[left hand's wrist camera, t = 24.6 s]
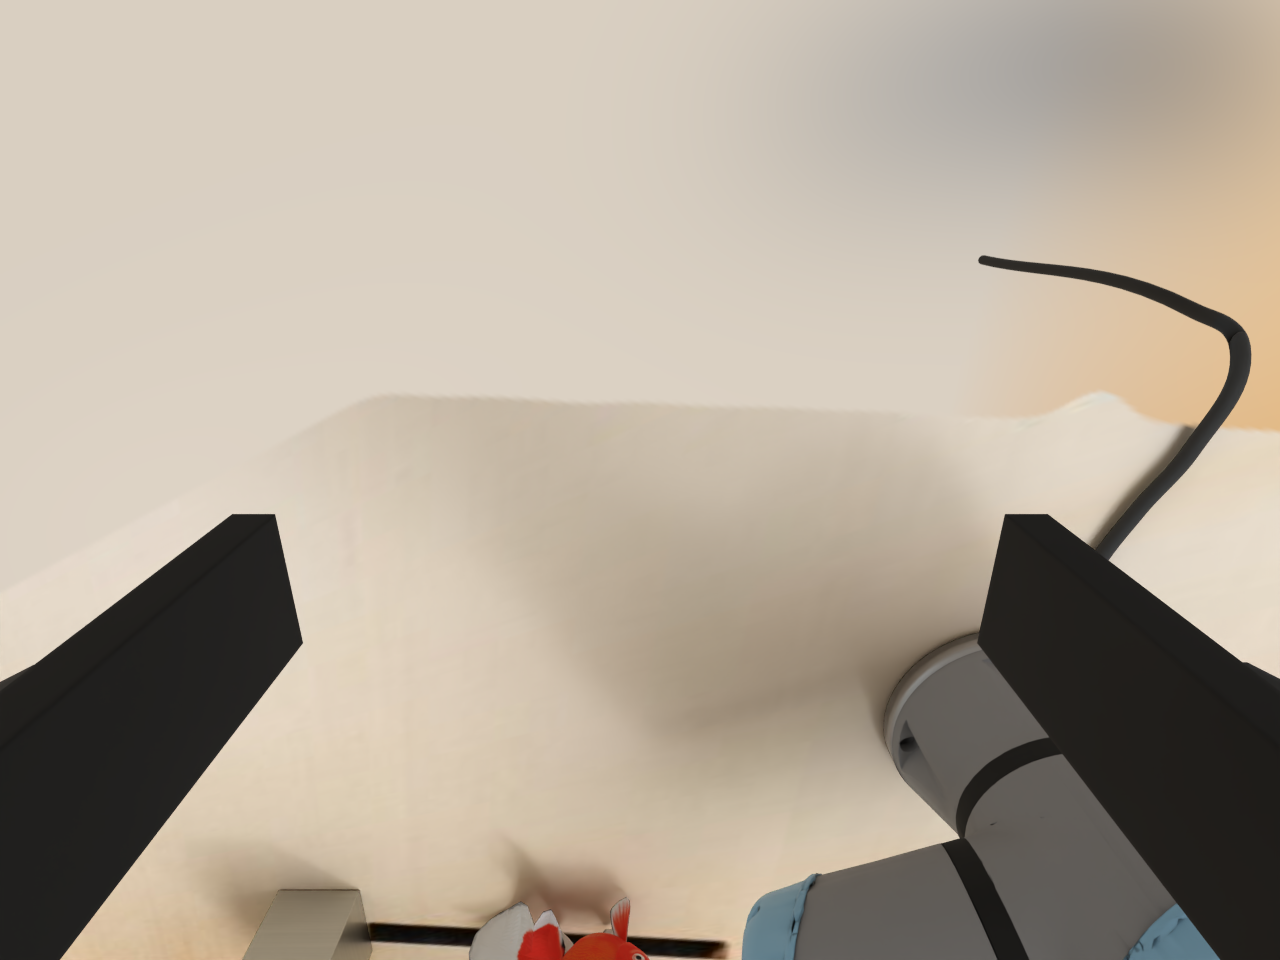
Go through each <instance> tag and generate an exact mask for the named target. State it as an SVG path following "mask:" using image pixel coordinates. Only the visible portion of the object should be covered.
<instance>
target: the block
mask: <svg viewBox="0 0 1280 960" xmlns="http://www.w3.org/2000/svg"><path fill="white" fill-rule="evenodd" d="M371 953H372V947H371V942H370V938H369V933H368V929H367V924H366V919H365V915H364V910H363V905H362V901H361V896H360V891H359V890H279V891H278V893H277V895H276V896H275V898H274V900H273V902H272V904H271V906H270V908H269V910H268V912H267V914H266V915H265V917H264V919H263V921H262V923H261V925H260V927H259V929H258V931H257V932H256V934H255V936H254V938H253V940H252V942H251V944H250V946H249V948H248V950H247V951H246V953H245V955H244V957H243V959H242V960H369V959H370V956H371Z"/></svg>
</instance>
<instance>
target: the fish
mask: <svg viewBox="0 0 1280 960" xmlns="http://www.w3.org/2000/svg"><path fill="white" fill-rule="evenodd" d="M629 914H630V901H629V899H628V898H627V897H626V898H624V899H622V900H620V901H619V902H618V903H616V904H615V905H614V906H613V907H612V909H611V911H610V915H611V925H612V929H605V930H604V932H603V933H593V934H590V935H587V936H585V937H583V938H581V939H580V940H579V941H577V942H576V943H575V944H574V945H573V943H572V942H571V940H570V939H569V938H568V937H567V936H566V935H565V934H564V933H563V932H562V931H561V930H560V927H559V924H558V922H557V920H556V918H555V916H554V914H553V912H552V910H551V909H550V910H547V911H544V912H543V913H542V915H541V916H540V917H539V919H538V920H537V922H536V923H535V924H534V922H533V919H532V917H531V914H530V911H529V908H528V906H527V905H526V904H524V903H522V902H519V903H517V904H515V905H514V906H512V907H511V908H509V909H507V910H505V911H503V912H501V913H499V914H498V915H496V916H495V917H493V918H492V919H490V920H489V921H488V922H487V923H486V924H485V925H484V926H483V927H482V928H481V929H480V930H479V931H478V932H477V933H476V935H475V937H474V940H473V943H472V946H471V948H470V951H469V960H649V958H648V956H647V955H646V954H644V953H643V952H642V951H641V950H640V949H638V948H637V947H636V946H634V945H633V944H631V943H630V942H627V931H628V923H629ZM564 954H565V955H564Z"/></svg>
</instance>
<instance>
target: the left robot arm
mask: <svg viewBox="0 0 1280 960" xmlns="http://www.w3.org/2000/svg"><path fill="white" fill-rule="evenodd" d="M978 262H979V263H980V264H982V265H986V266H990V267H995V268H1001V269H1006V270H1014V271H1020V272H1028V273H1036V274H1044V275H1052V276H1059V277H1067V278H1073V279H1079V280H1085V281H1090V282H1095V283H1100V284H1104V285H1108V286H1112V287H1116V288H1119V289H1123V290H1126V291H1129V292H1132V293H1135V294H1138V295H1141V296H1143V297H1146V298H1148V299H1151V300H1153V301H1156V302H1158V303H1160V304H1163V305H1165V306H1167V307H1169V308H1171V309H1173V310H1175V311H1177V312H1179V313H1181V314H1183V315H1185V316H1187V317H1189V318H1191V319H1193V320H1195V321H1198V322H1200V323H1202V324H1205V325H1207V326H1210V327H1212V328H1214V329H1216V330H1218V331H1219V332H1221V333H1222V334H1223V335H1224V337H1225V338H1226V340H1227V342H1228V345H1229V349H1230V367H1229V373H1228V376H1227V380H1226V382H1225V385H1224V387H1223V389H1222V391H1221V393H1220V395H1219V397H1218V398H1217V400H1216V401H1215V403H1214V405H1213V406H1212V408H1211V409H1210V410H1209V412H1208V413H1207V415H1206V416H1205V417H1204V419H1203V420H1202V421H1201V423H1200V424H1199V425H1198V427H1197V428H1196V429H1195V431H1194V432H1193V433H1192V435H1191V436H1190V438H1189V439H1188V440H1187V442H1186V443H1185V445H1184V446H1183V447H1182V449H1181V450H1180V452H1179V453H1178V454H1177V456H1176V457H1175V458H1174V459H1173V460H1172V462H1171V463H1170V464H1169V465H1168V466H1167V467H1166V468H1165V470H1164V471H1163V472H1162V473H1161V474H1160V475H1159V476H1158V477H1157V478H1156V479H1155V480H1154V481H1153V482H1152V483H1151V484H1150V485H1149V486H1148V487H1147V488H1146V489H1145V490H1144V491H1143V492H1142V493H1141V495H1140V496H1139V497H1138V498H1137V499H1136V500H1135V501H1134V502H1133V504H1132V505H1131V506H1130V507H1129V508H1128V510H1127V511H1126V512H1125V513H1124V515H1123V516H1122V517H1121V518H1120V519H1119V521H1118V522H1117V523H1116V524H1115V525H1114V527H1113V528H1112V529H1111V530H1110V532H1109V533H1108V534H1107V535H1106V537H1105V538H1104V539H1103V541H1102V542H1101V543H1100V545H1099V546H1098V547H1097V549H1096V550H1094V549H1093V548H1091V547H1090V546H1089V545H1087V544H1086V543H1085V542H1083V541H1082V540H1081V539H1080V538H1078V537H1077V536H1076V535H1074V534H1073V533H1072V532H1070V531H1069V530H1068V529H1066V528H1065V527H1064V526H1062V525H1061V524H1060V523H1058V522H1057V521H1056V520H1055V519H1053V518H1052V517H1051V516H1049V515H1048V514H1005V517H1004V521H1003V526H1002V531H1001V535H1000V540H999V544H998V549H997V554H996V558H995V563H994V567H993V572H992V577H991V581H990V586H989V590H988V595H987V600H986V604H985V609H984V613H983V618H982V623H981V627H980V632H979V633H976V634H972V635H968V636H965V637H962V638H959V639H956V640H954V641H952V642H949V643H947V644H945V645H943V646H941V647H939V648H937V649H936V650H934V651H932V652H931V653H929V654H928V655H926V656H925V657H924V658H922V659H921V660H920V661H919V662H917V663H916V664H915V665H914V666H913V667H912V668H911V669H910V670H909V671H908V672H907V673H906V674H905V675H904V677H903V678H902V679H901V680H900V682H899V683H898V685H897V686H896V688H895V689H894V691H893V693H892V695H891V697H890V699H889V702H888V704H887V708H886V711H885V717H884V737H885V741H886V745H887V747H888V750H889V752H890V755H891V757H892V759H893V761H894V763H895V766H896V768H897V770H898V771H899V773H900V775H901V776H902V778H903V779H904V781H905V782H906V783H907V784H908V785H909V786H910V787H911V788H912V789H913V790H914V791H915V792H916V793H917V794H918V795H919V796H920V797H921V798H922V799H923V800H924V801H925V802H926V803H927V804H928V805H929V806H930V807H931V808H932V809H933V810H934V811H935V812H936V813H937V814H938V815H939V816H940V817H941V818H942V819H943V820H944V821H945V822H946V823H947V824H948V825H949V826H950V827H951V828H952V829H953V830H954V831H955V832H956V833H957V834H958V836H959V838H960V839H956V840H953V841H949V842H945V843H941V844H936V845H933V846H929V847H925V848H922V849H918V850H915V851H911V852H907V853H904V854H900V855H896V856H893V857H889V858H886V859H882V860H878V861H875V862H871V863H867V864H863V865H859V866H855V867H851V868H847V869H843V870H839V871H835V872H832V873H828V874H824V875H822V874H817V873H816V874H812V875H810V876H809V877H808V878H807V879H806V880H805V881H802V882H799V883H796V884H794V885H791V886H788V887H785V888H782V889H779V890H776V891H772V892H770V893H768V894H765V895H764V896H762V897H761V898H760V899H759V900H758V901H757V902H756V903H755V904H754V906H753V907H752V909H751V911H750V914H749V915H748V918H747V923H746V928H745V930H744V936H743V946H742V960H1280V679H1279V678H1277V677H1275V676H1273V675H1271V674H1269V673H1267V672H1265V671H1263V670H1261V669H1259V668H1257V667H1255V666H1253V665H1251V664H1249V663H1247V662H1241V661H1240V660H1238V659H1237V658H1236V657H1235V656H1233V655H1232V654H1231V653H1229V652H1228V651H1227V650H1225V649H1224V648H1223V647H1221V646H1220V645H1219V644H1217V643H1216V642H1215V641H1214V640H1212V639H1211V638H1210V637H1208V636H1207V635H1206V634H1204V633H1203V632H1202V631H1200V630H1199V629H1198V628H1196V627H1195V626H1194V625H1192V624H1191V623H1190V622H1189V621H1187V620H1186V619H1185V618H1183V617H1182V616H1181V615H1179V614H1178V613H1177V612H1175V611H1174V610H1173V609H1171V608H1170V607H1169V606H1168V605H1166V604H1165V603H1164V602H1162V601H1161V600H1160V599H1158V598H1157V597H1156V596H1154V595H1153V594H1152V593H1150V592H1149V591H1148V590H1147V589H1145V588H1144V587H1143V586H1141V585H1140V584H1139V583H1137V582H1136V581H1135V580H1133V579H1132V578H1131V577H1129V576H1128V575H1127V574H1125V573H1124V572H1123V571H1122V570H1120V569H1119V568H1118V567H1116V566H1115V565H1114V564H1112V563H1111V562H1110V561H1108V560H1109V559H1110V558H1111V556H1112V555H1113V553H1114V552H1115V551H1116V549H1117V548H1118V547H1119V546H1120V544H1121V543H1122V542H1123V541H1124V539H1125V538H1126V537H1127V536H1128V535H1129V533H1130V532H1131V531H1132V530H1133V529H1134V527H1135V526H1136V525H1137V524H1138V523H1139V521H1140V520H1141V519H1142V518H1143V517H1144V515H1145V514H1146V513H1147V512H1148V511H1149V510H1150V508H1151V507H1152V506H1153V505H1154V504H1155V503H1156V502H1157V501H1158V500H1159V499H1160V498H1161V497H1162V496H1163V495H1164V494H1165V493H1166V492H1167V491H1168V490H1169V489H1170V488H1171V487H1172V486H1173V485H1174V484H1175V483H1176V481H1177V480H1178V479H1179V478H1180V477H1181V476H1182V475H1183V474H1184V473H1185V472H1186V471H1187V469H1188V468H1189V467H1190V466H1191V465H1192V463H1193V462H1194V461H1195V460H1196V458H1197V457H1198V456H1199V454H1200V453H1201V451H1202V450H1203V449H1204V447H1205V446H1206V444H1207V443H1208V442H1209V440H1210V439H1211V438H1212V436H1213V435H1214V434H1215V433H1216V431H1217V430H1218V429H1219V427H1220V426H1221V425H1222V423H1223V422H1224V421H1225V419H1226V418H1227V417H1228V415H1229V414H1230V412H1231V411H1232V409H1233V408H1234V406H1235V405H1236V403H1237V401H1238V400H1239V398H1240V396H1241V394H1242V392H1243V390H1244V387H1245V385H1246V383H1247V379H1248V376H1249V372H1250V366H1251V346H1250V342H1249V338H1248V336H1247V333H1246V331H1245V330H1244V329H1243V327H1242V326H1241V325H1240V324H1238V323H1237V322H1236V321H1235V320H1233V319H1232V318H1230V317H1229V316H1227V315H1225V314H1223V313H1220V312H1218V311H1215V310H1213V309H1210V308H1207V307H1205V306H1202V305H1200V304H1198V303H1196V302H1194V301H1192V300H1189V299H1187V298H1185V297H1183V296H1181V295H1179V294H1176V293H1174V292H1172V291H1169V290H1167V289H1164V288H1162V287H1159V286H1156V285H1154V284H1151V283H1148V282H1145V281H1141V280H1138V279H1135V278H1131V277H1128V276H1124V275H1119V274H1115V273H1111V272H1106V271H1100V270H1094V269H1088V268H1081V267H1074V266H1065V265H1056V264H1045V263H1035V262H1025V261H1016V260H1009V259H1002V258H996V257H990V256H986V255H982V256H980V257H979V259H978ZM302 644H303V641H302V637H301V632H300V627H299V623H298V618H297V613H296V609H295V604H294V600H293V595H292V590H291V586H290V581H289V577H288V572H287V567H286V563H285V558H284V554H283V549H282V544H281V540H280V535H279V531H278V526H277V521H276V517H275V514H232V515H231V516H229V517H228V518H227V519H225V520H224V521H223V522H222V523H220V524H219V525H218V526H216V527H215V528H214V529H212V530H211V531H210V532H208V533H207V534H206V535H204V536H203V537H202V538H200V539H199V540H198V541H197V542H195V543H194V544H193V545H191V546H190V547H189V548H187V549H186V550H185V551H183V552H182V553H181V554H179V555H178V556H177V557H176V558H174V559H173V560H172V561H170V562H169V563H168V564H166V565H165V566H164V567H162V568H161V569H160V570H158V571H157V572H156V573H155V574H153V575H152V576H151V577H149V578H148V579H147V580H145V581H144V582H143V583H141V584H140V585H139V586H137V587H136V588H135V589H133V590H132V591H131V592H130V593H128V594H127V595H126V596H124V597H123V598H122V599H120V600H119V601H118V602H116V603H115V604H114V605H112V606H111V607H110V608H109V609H107V610H106V611H105V612H103V613H102V614H101V615H99V616H98V617H97V618H95V619H94V620H93V621H91V622H90V623H89V624H88V625H86V626H85V627H84V628H82V629H81V630H80V631H78V632H77V633H76V634H74V635H73V636H72V637H70V638H69V639H68V640H66V641H65V642H64V643H63V644H61V645H60V646H59V647H57V648H56V649H55V650H53V651H52V652H51V653H49V654H48V655H47V656H45V657H44V658H43V659H42V660H40V661H39V662H38V663H36V664H35V665H33V666H31V667H29V668H27V669H25V670H23V671H21V672H19V673H17V674H15V675H13V676H11V677H9V678H7V679H5V680H3V681H1V682H0V960H60V959H61V958H62V956H63V955H64V954H65V952H66V951H67V950H68V948H69V947H70V946H71V945H72V943H73V942H74V941H75V939H76V938H77V937H78V935H79V934H80V933H81V932H82V930H83V929H84V928H85V926H86V925H87V924H88V922H89V921H90V920H91V918H92V917H93V916H94V915H95V913H96V912H97V911H98V909H99V908H100V907H101V905H102V904H103V903H104V902H105V900H106V899H107V898H108V896H109V895H110V894H111V892H112V891H113V890H114V889H115V887H116V886H117V885H118V883H119V882H120V881H121V879H122V878H123V877H124V875H125V874H126V873H127V872H128V870H129V869H130V868H131V866H132V865H133V864H134V862H135V861H136V860H137V859H138V857H139V856H140V855H141V853H142V852H143V851H144V849H145V848H146V847H147V846H148V844H149V843H150V842H151V840H152V839H153V838H154V836H155V835H156V834H157V832H158V831H159V830H160V829H161V827H162V826H163V825H164V823H165V822H166V821H167V819H168V818H169V817H170V816H171V814H172V813H173V812H174V810H175V809H176V808H177V806H178V805H179V804H180V803H181V801H182V800H183V799H184V797H185V796H186V795H187V793H188V792H189V791H190V790H191V788H192V787H193V786H194V784H195V783H196V782H197V780H198V779H199V778H200V776H201V775H202V774H203V773H204V771H205V770H206V769H207V767H208V766H209V765H210V763H211V762H212V761H213V760H214V758H215V757H216V756H217V754H218V753H219V752H220V750H221V749H222V748H223V747H224V745H225V744H226V743H227V741H228V740H229V739H230V737H231V736H232V735H233V733H234V732H235V731H236V730H237V728H238V727H239V726H240V724H241V723H242V722H243V720H244V719H245V718H246V717H247V715H248V714H249V713H250V711H251V710H252V709H253V707H254V706H255V705H256V704H257V702H258V701H259V700H260V698H261V697H262V696H263V694H264V693H265V692H266V691H267V689H268V688H269V687H270V685H271V684H272V683H273V681H274V680H275V679H276V677H277V676H278V675H279V674H280V672H281V671H282V670H283V668H284V667H285V666H286V664H287V663H288V662H289V661H290V659H291V658H292V657H293V655H294V654H295V653H296V651H297V650H298V649H299V648H300V646H301V645H302Z"/></svg>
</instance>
